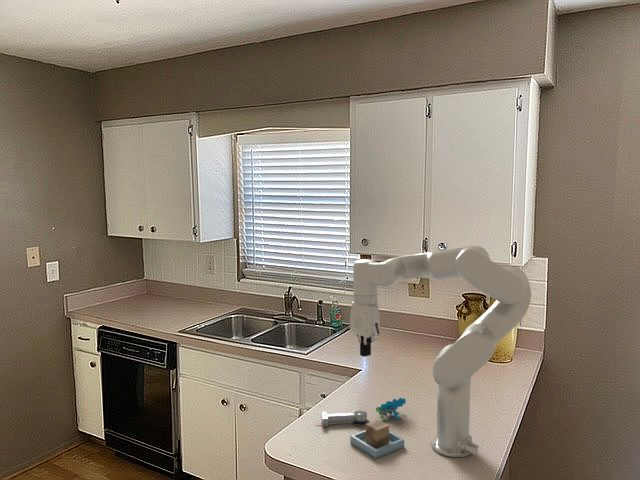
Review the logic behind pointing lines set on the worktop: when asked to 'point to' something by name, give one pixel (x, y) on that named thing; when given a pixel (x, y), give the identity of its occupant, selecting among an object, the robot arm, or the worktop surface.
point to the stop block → (377, 434)
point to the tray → (393, 445)
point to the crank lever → (344, 418)
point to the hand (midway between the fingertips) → (365, 355)
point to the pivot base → (354, 424)
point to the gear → (391, 407)
